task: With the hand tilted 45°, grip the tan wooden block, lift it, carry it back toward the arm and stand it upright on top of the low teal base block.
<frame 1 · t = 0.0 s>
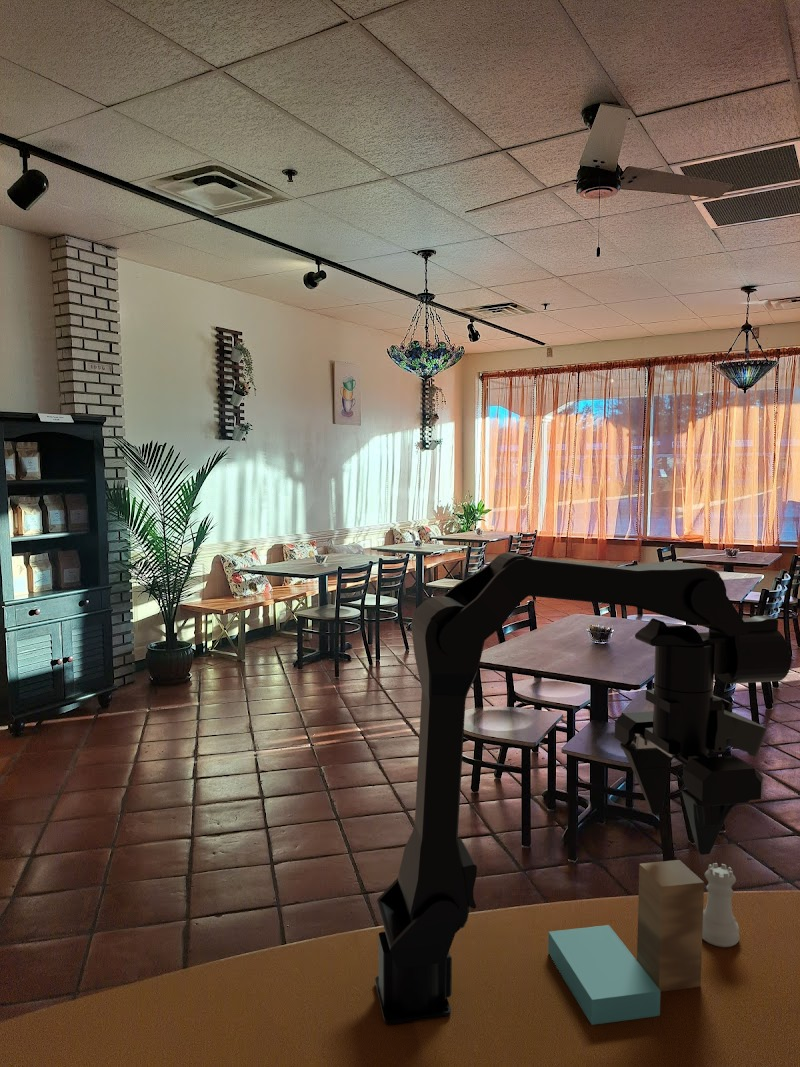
hand: (678, 832, 80), 15 cm above the table, tool pointing down, fingers open, 9 cm apart
rook chess piece: (718, 938, 86), on the table
tan wooden block: (667, 974, 80), on the table
base block: (600, 982, 78), on the table
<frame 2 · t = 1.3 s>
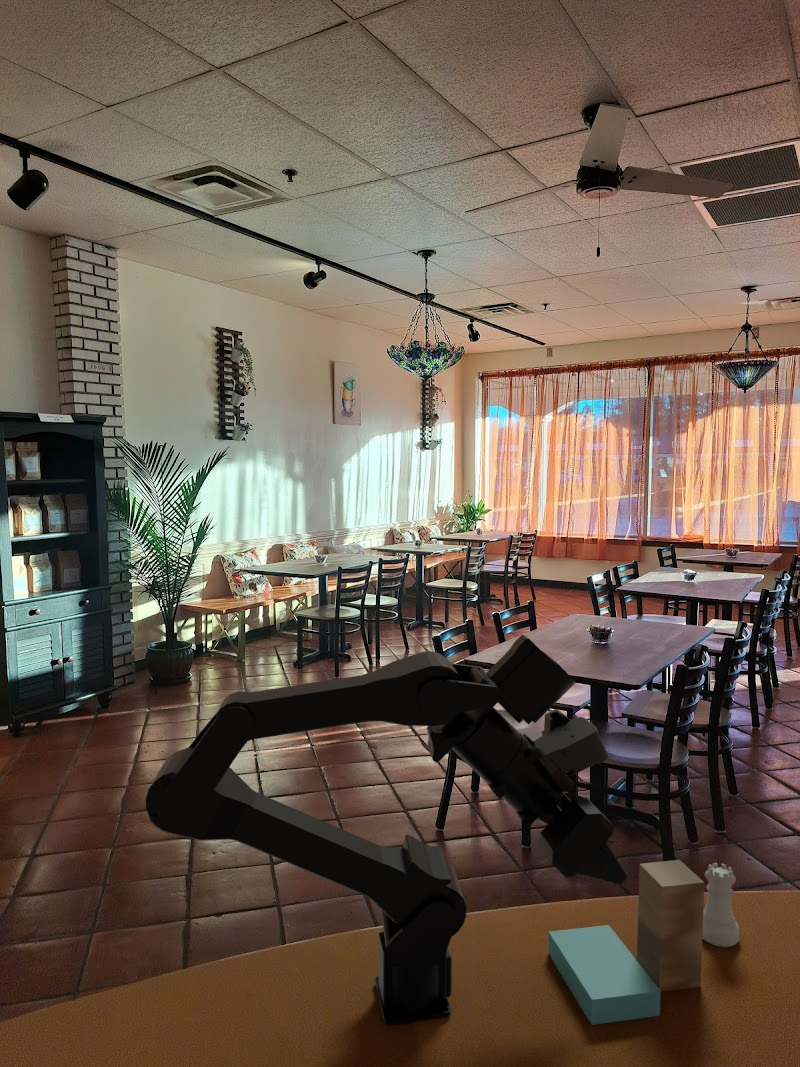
hand: (603, 856, 77), 13 cm above the table, tool tilted 45°, fingers open, 9 cm apart
nothing on the table moved.
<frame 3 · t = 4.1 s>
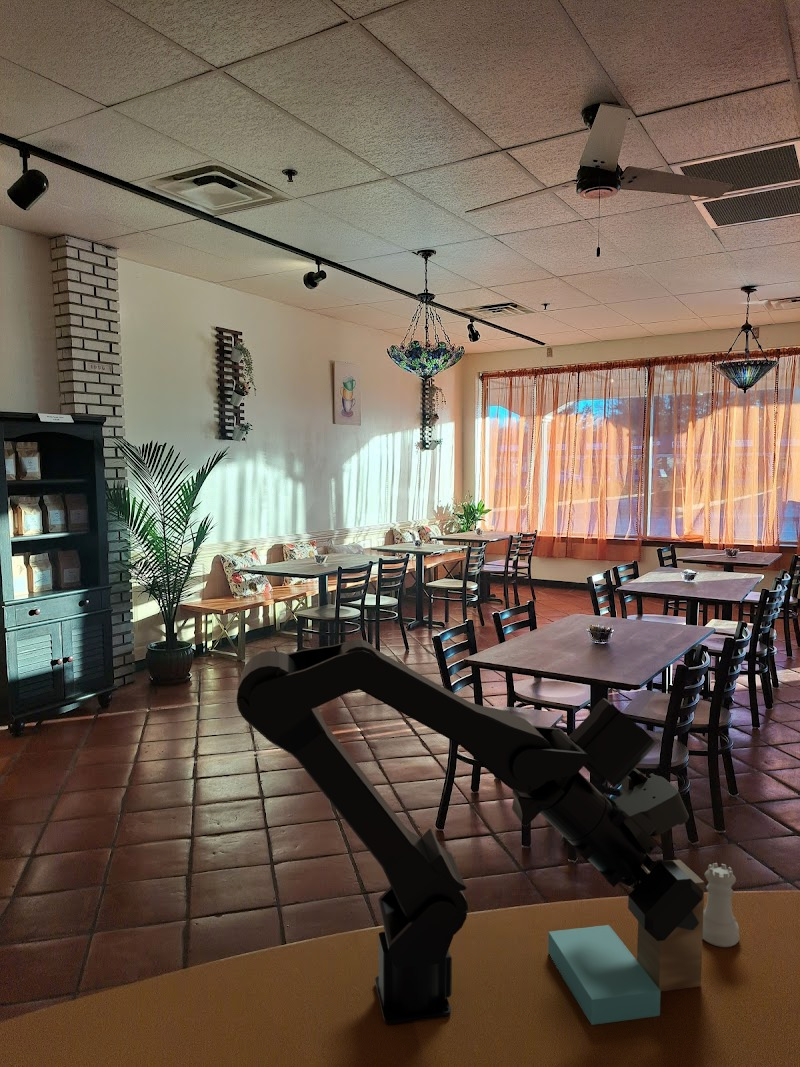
hand: (682, 912, 80), 7 cm above the table, tool tilted 45°, fingers closed on tan wooden block, 5 cm apart
tan wooden block: (668, 974, 80), on the table, touching gripper
everything else where it was.
when the fingers open (10 cm above the table, at t = 7.0 s): tan wooden block drops 1 cm, resting on base block.
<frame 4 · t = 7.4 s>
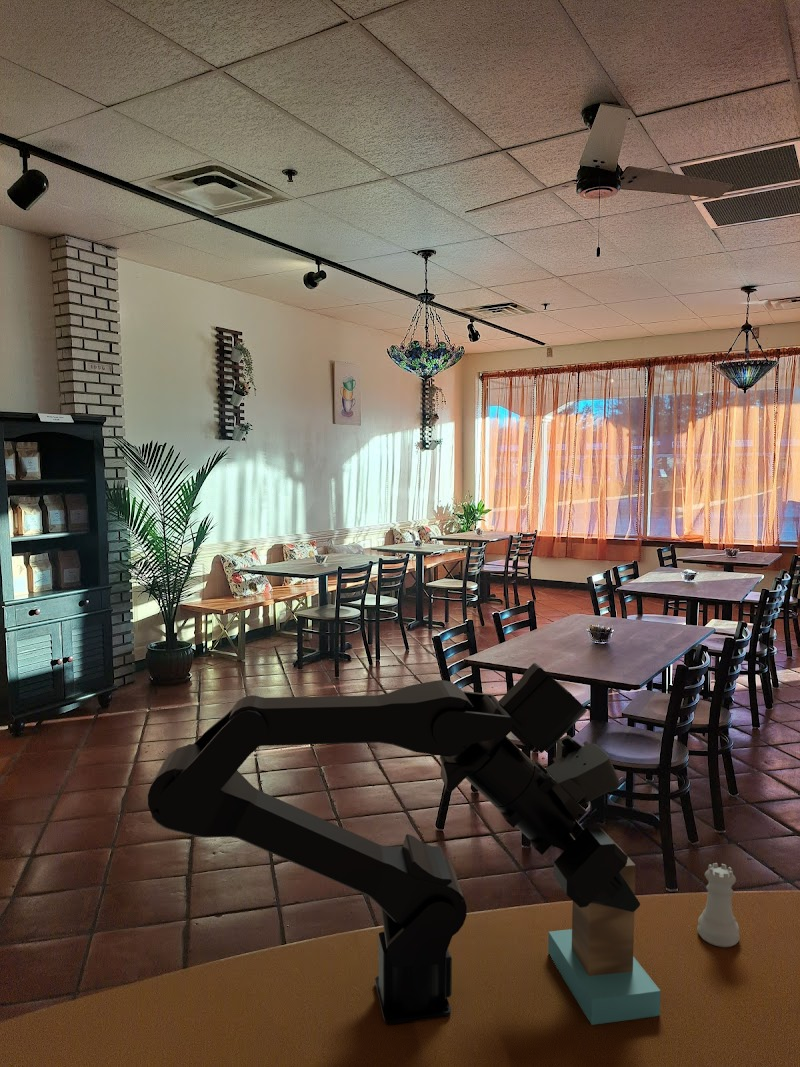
hand: (616, 882, 78), 11 cm above the table, tool tilted 45°, fingers open, 9 cm apart
tan wooden block: (601, 959, 78), point 2 cm above the table, touching base block
everything else where it was.
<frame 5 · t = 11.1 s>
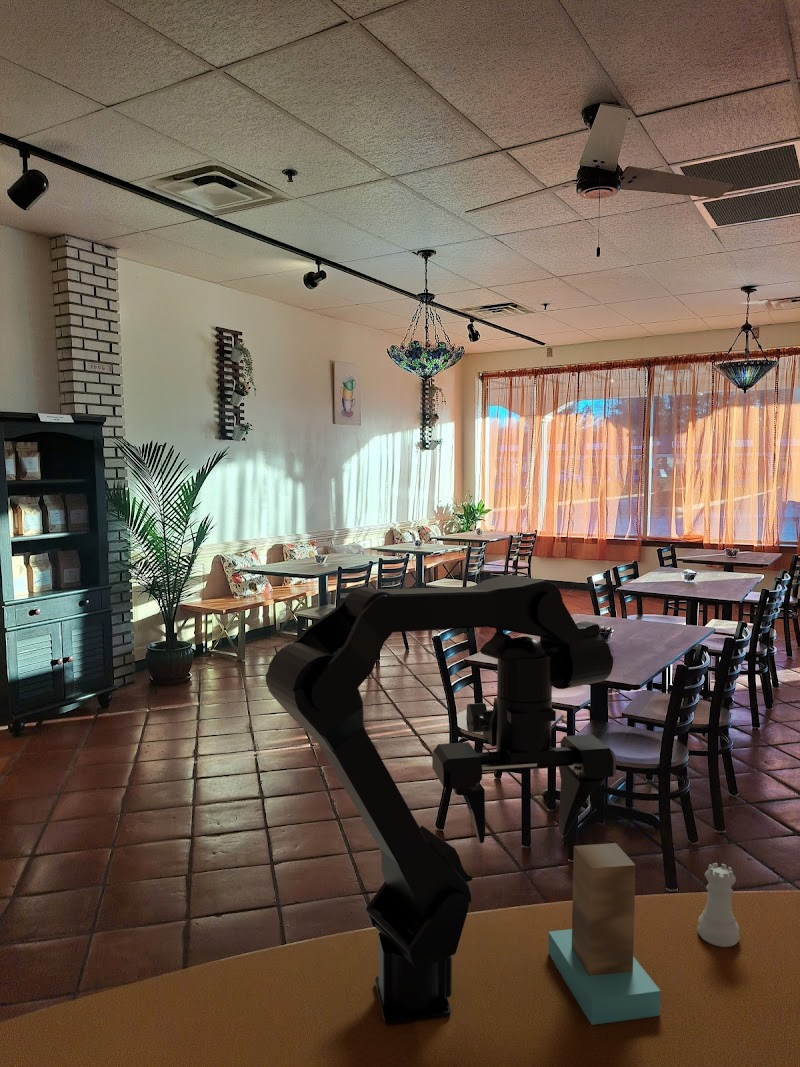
hand: (522, 837, 82), 13 cm above the table, tool pointing down, fingers open, 9 cm apart
nothing on the table moved.
at the end: tan wooden block inside the target area on the base block (0.0 cm from its centre), point 2.5 cm above the base block's base; tan wooden block tilted 0°; the gripper is holding nothing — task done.
